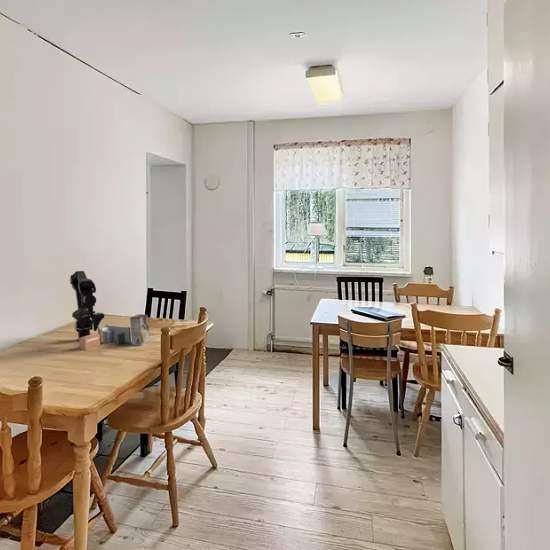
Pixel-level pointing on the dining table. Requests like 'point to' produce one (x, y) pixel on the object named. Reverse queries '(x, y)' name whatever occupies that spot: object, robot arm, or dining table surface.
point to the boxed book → (89, 341)
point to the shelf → (113, 333)
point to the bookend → (121, 339)
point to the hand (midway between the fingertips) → (89, 330)
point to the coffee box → (139, 329)
